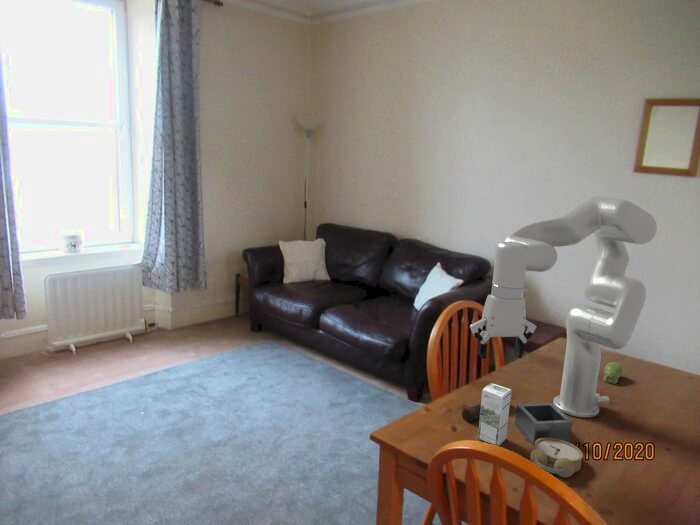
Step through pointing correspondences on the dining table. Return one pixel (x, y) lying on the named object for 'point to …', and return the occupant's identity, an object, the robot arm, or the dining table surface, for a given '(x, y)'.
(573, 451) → the alarm clock
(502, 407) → the syrup box
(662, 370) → the dining table surface
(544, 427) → the socket holder
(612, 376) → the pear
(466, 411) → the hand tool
